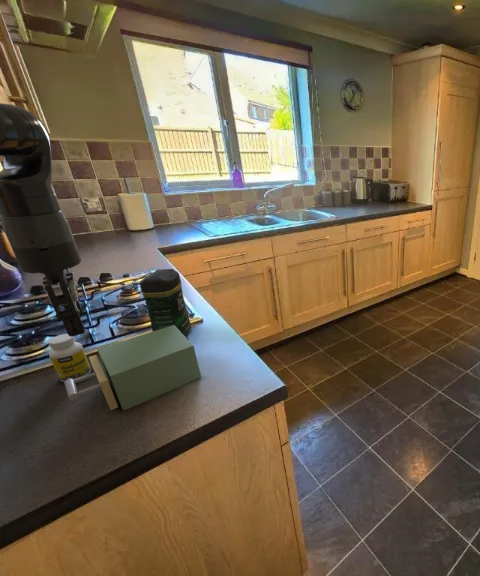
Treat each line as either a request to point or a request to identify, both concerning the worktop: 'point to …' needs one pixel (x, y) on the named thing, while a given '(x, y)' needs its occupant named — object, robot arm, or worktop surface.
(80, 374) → the supplement bottle
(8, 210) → the robot arm
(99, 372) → the drawer
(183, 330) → the coffee jar
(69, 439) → the worktop surface
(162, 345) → the cabinet
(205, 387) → the worktop surface
